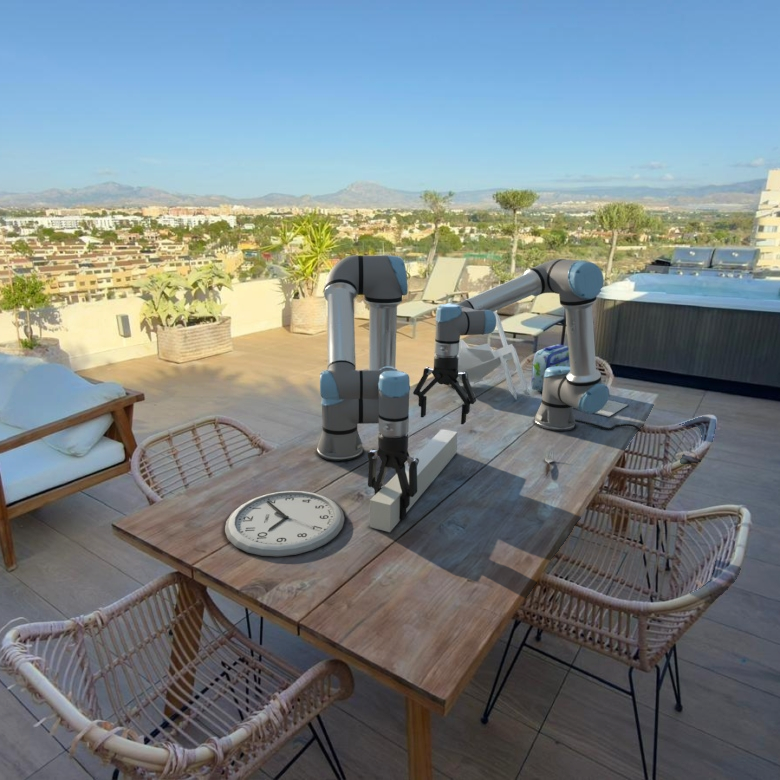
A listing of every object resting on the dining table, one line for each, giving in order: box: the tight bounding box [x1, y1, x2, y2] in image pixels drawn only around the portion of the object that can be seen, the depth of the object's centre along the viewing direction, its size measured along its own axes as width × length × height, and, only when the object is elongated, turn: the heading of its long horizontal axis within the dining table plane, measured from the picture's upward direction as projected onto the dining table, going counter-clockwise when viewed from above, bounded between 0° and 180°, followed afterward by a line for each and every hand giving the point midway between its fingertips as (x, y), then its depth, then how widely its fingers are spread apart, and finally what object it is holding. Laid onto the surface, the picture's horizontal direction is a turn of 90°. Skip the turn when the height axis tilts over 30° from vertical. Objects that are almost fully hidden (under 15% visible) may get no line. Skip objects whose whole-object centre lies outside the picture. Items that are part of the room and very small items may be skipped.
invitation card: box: [595, 399, 629, 418], centre depth 226 cm, size 21×1×15 cm
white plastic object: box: [457, 311, 531, 400], centre depth 245 cm, size 37×45×31 cm
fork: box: [544, 451, 555, 476], centre depth 168 cm, size 3×16×2 cm, turn 160°
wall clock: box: [224, 490, 345, 557], centre depth 134 cm, size 30×2×30 cm
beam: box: [369, 428, 458, 533], centre depth 154 cm, size 54×6×8 cm, turn 155°
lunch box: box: [530, 344, 570, 392], centre depth 247 cm, size 26×11×21 cm, turn 134°
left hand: (391, 514), depth 138 cm, fingers closed on beam, 6 cm apart
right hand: (442, 419), depth 168 cm, fingers open, 13 cm apart
